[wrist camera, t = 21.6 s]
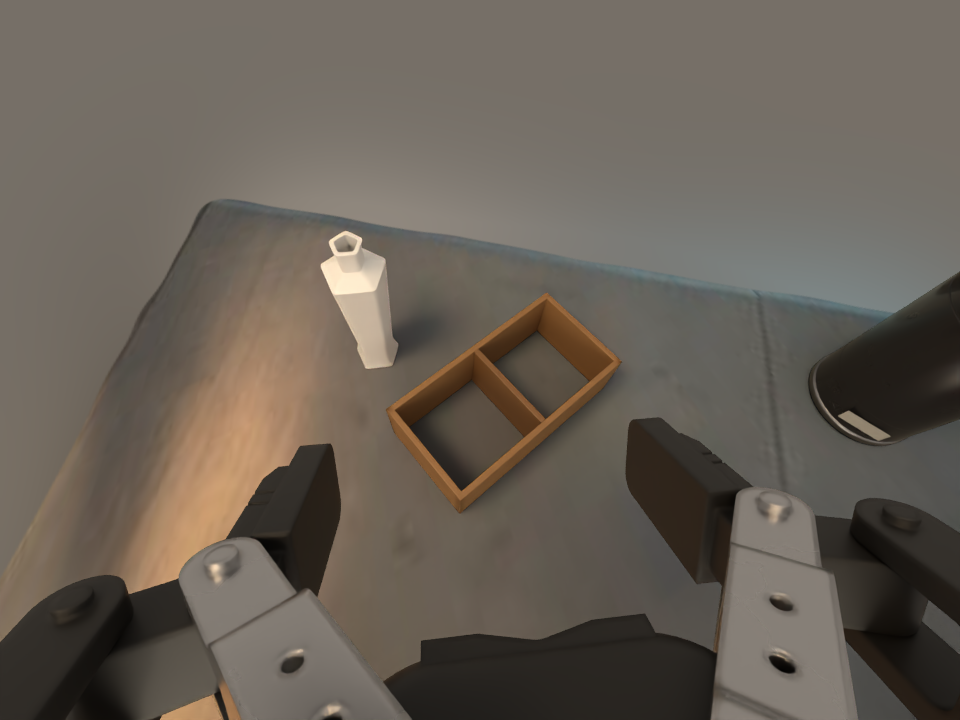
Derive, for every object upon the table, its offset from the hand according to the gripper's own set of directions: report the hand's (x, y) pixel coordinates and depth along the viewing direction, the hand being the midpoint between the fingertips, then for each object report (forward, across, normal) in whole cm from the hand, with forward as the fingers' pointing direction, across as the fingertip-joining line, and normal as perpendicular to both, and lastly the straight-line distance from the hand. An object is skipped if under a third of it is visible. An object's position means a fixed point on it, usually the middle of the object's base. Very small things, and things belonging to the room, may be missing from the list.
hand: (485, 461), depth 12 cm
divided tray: (+27, -4, +11) cm, 29 cm away
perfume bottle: (+32, +6, +6) cm, 33 cm away
